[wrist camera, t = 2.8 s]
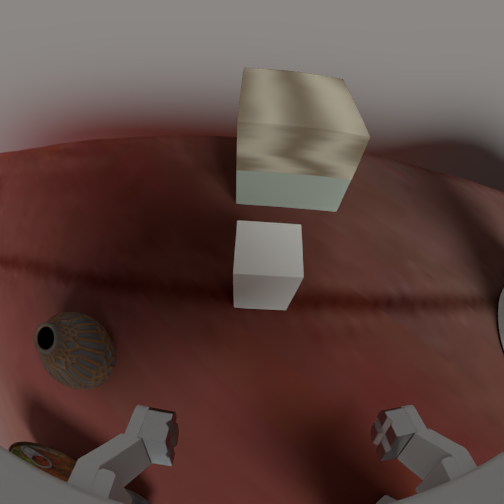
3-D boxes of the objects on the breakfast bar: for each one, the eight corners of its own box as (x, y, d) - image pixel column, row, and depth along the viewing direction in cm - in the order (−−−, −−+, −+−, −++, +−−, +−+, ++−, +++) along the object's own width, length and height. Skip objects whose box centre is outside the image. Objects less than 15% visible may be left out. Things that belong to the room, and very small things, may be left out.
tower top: (332, 115, 34) (342, 79, 28) (351, 179, 28) (370, 137, 23) (242, 107, 33) (243, 67, 28) (236, 170, 28) (237, 122, 22)
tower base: (324, 147, 39) (333, 115, 34) (335, 212, 33) (351, 179, 28) (242, 140, 39) (243, 106, 33) (236, 204, 33) (236, 168, 28)
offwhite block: (285, 268, 29) (301, 224, 22) (285, 310, 27) (303, 277, 20) (236, 265, 29) (237, 220, 22) (233, 307, 27) (233, 273, 20)
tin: (171, 506, 17) (146, 543, 9) (164, 528, 15) (139, 566, 8) (43, 437, 18) (-8, 439, 11) (39, 458, 17) (-11, 464, 9)
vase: (81, 400, 21) (27, 394, 13) (60, 339, 24) (9, 314, 16) (136, 376, 23) (94, 364, 15) (110, 313, 26) (67, 279, 18)
